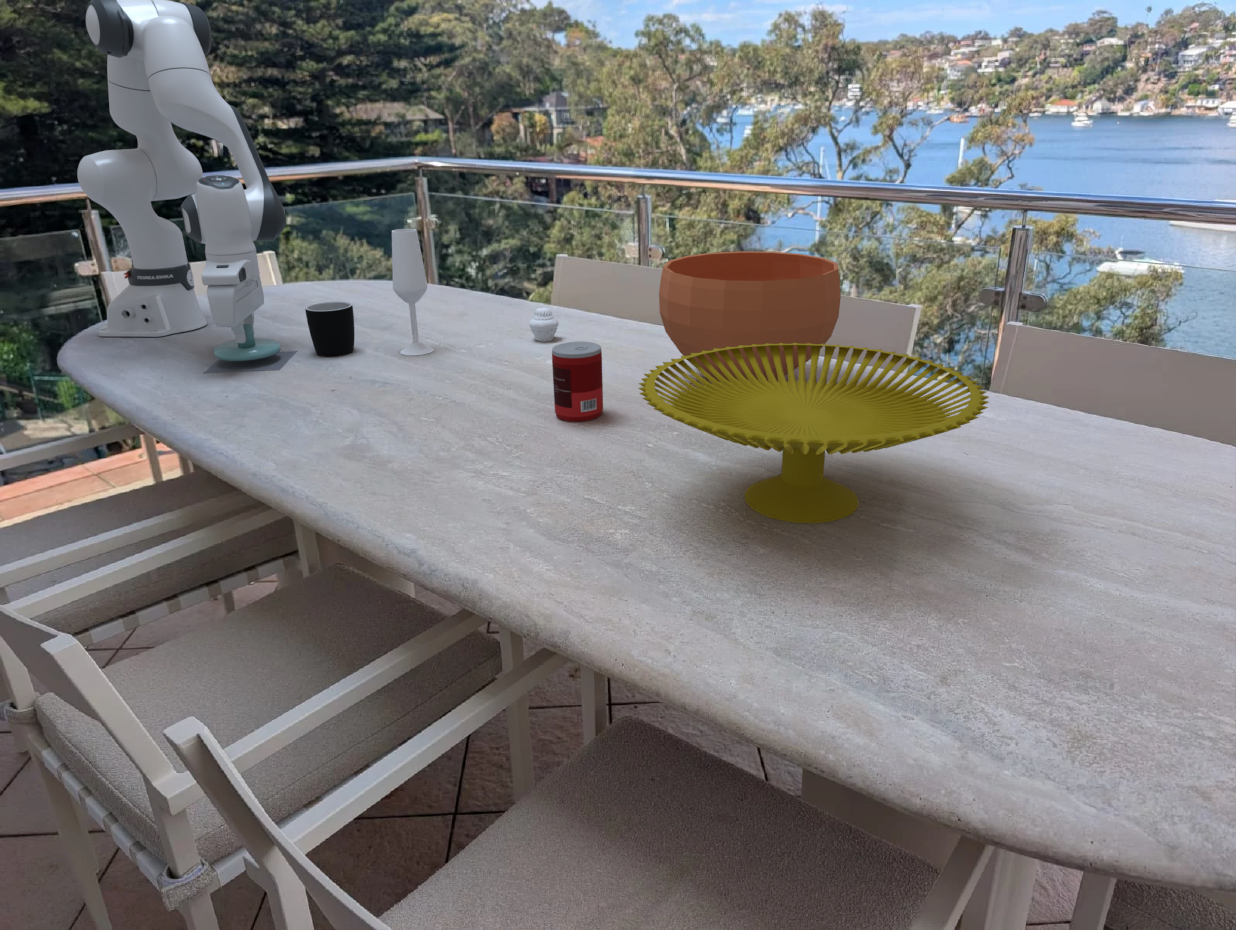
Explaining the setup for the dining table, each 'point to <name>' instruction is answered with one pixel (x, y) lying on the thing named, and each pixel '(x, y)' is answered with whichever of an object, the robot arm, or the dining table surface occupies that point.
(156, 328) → the robot arm
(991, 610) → the dining table surface
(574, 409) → the canned food
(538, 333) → the white ridged rounded piece
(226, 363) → the mat
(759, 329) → the bowl
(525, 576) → the dining table surface
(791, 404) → the cake stand
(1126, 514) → the dining table surface
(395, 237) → the champagne flute
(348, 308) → the mug
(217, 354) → the lid
